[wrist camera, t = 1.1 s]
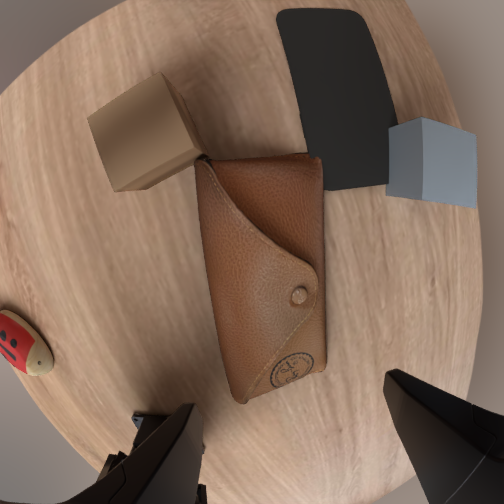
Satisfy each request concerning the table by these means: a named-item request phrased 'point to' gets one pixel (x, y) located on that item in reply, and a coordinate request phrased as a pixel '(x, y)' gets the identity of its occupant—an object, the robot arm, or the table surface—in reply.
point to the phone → (339, 94)
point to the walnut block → (146, 135)
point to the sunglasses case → (265, 267)
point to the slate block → (432, 163)
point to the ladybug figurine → (23, 345)
